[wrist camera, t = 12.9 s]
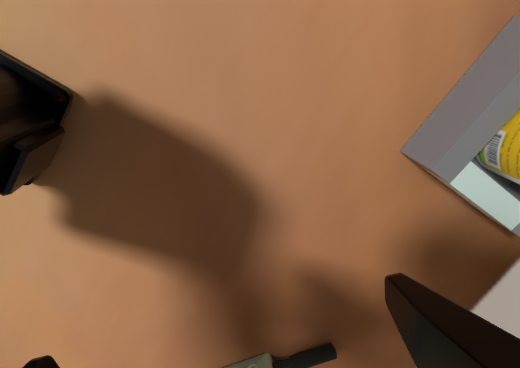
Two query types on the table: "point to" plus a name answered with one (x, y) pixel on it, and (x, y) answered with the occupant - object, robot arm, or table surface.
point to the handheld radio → (291, 359)
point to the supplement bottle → (504, 151)
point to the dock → (475, 130)
